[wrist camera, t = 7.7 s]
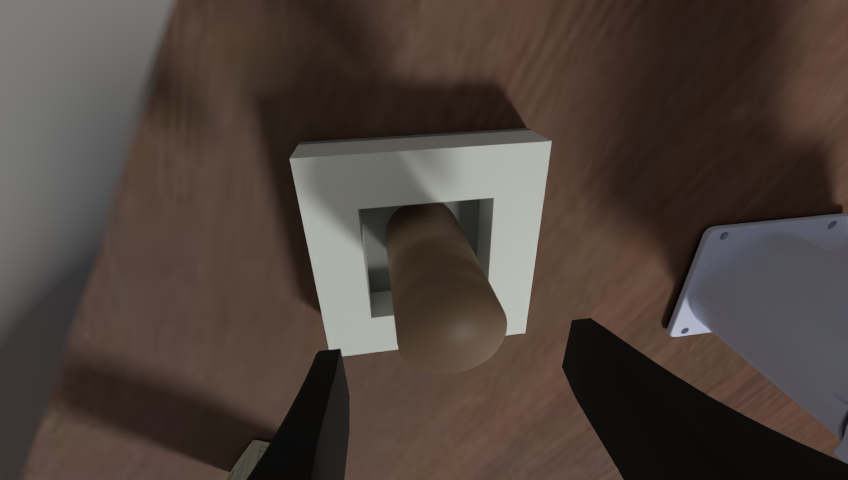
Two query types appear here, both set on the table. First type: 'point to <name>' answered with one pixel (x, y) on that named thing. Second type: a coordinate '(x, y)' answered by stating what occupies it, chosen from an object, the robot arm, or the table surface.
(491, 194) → the socket block
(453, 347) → the pin
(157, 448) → the table surface
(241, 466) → the skincare box
